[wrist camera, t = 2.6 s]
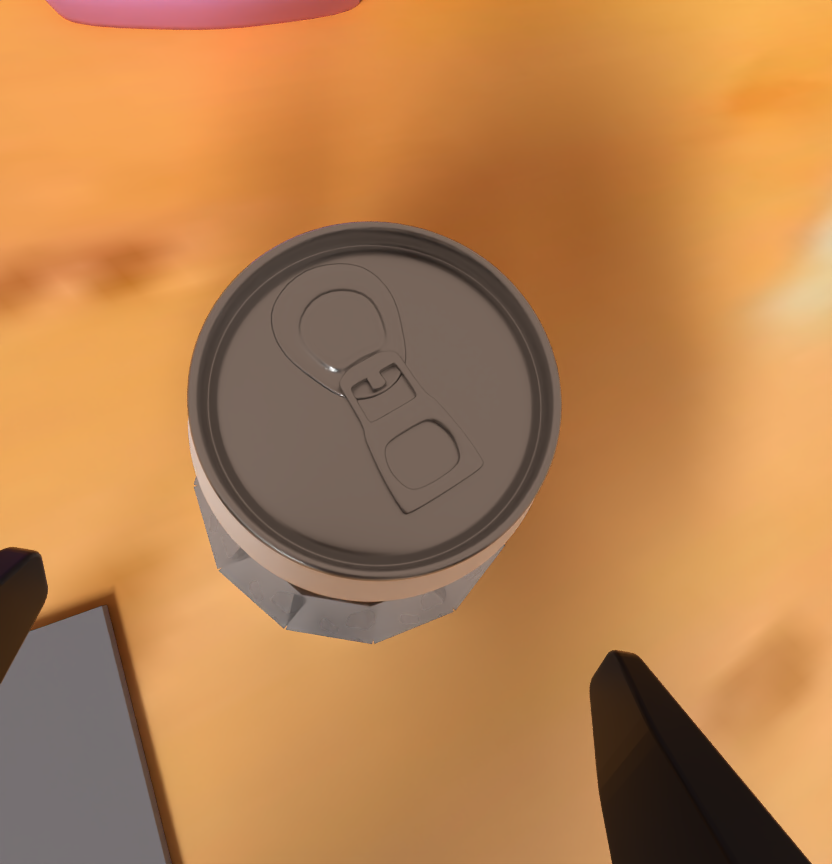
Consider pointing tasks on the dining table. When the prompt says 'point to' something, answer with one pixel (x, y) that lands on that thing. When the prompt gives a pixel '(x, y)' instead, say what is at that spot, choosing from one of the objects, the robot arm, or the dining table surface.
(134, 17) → the teakettle
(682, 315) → the dining table surface
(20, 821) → the mat
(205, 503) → the holder
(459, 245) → the can
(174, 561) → the dining table surface
